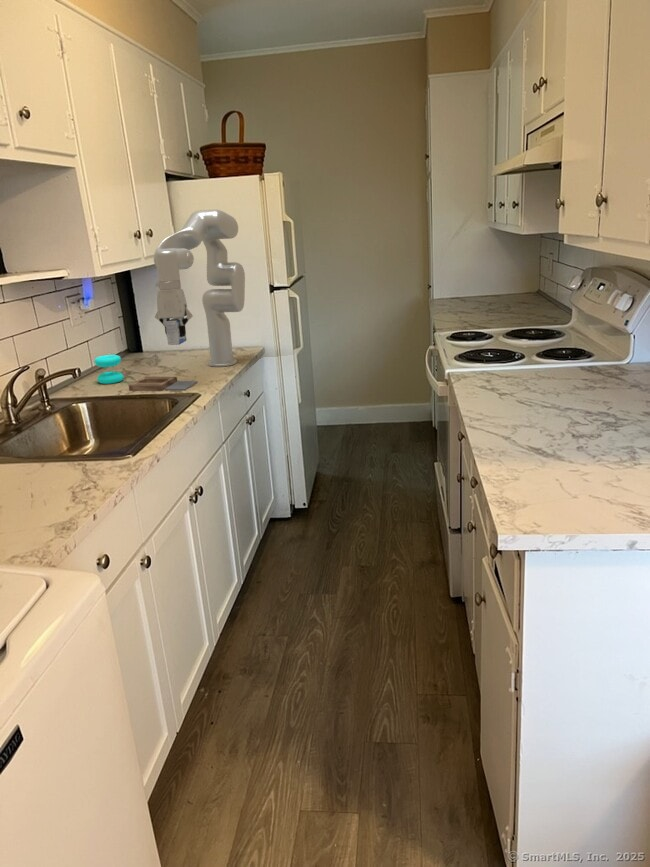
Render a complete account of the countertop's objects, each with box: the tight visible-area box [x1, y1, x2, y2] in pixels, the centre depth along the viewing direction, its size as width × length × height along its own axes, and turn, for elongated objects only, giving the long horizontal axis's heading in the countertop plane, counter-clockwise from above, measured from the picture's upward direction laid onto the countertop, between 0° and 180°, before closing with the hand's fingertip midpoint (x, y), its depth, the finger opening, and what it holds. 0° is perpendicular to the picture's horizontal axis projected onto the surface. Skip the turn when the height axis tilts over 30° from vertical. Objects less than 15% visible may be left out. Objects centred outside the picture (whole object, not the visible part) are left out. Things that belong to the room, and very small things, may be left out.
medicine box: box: [165, 318, 188, 346], centre depth 239 cm, size 8×4×9 cm, turn 171°
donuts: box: [93, 354, 125, 385], centre depth 256 cm, size 10×10×10 cm
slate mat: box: [164, 380, 199, 391], centre depth 245 cm, size 12×8×1 cm, turn 168°
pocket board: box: [128, 375, 178, 392], centre depth 247 cm, size 14×13×2 cm
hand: (176, 335), depth 239 cm, fingers closed on medicine box, 4 cm apart
